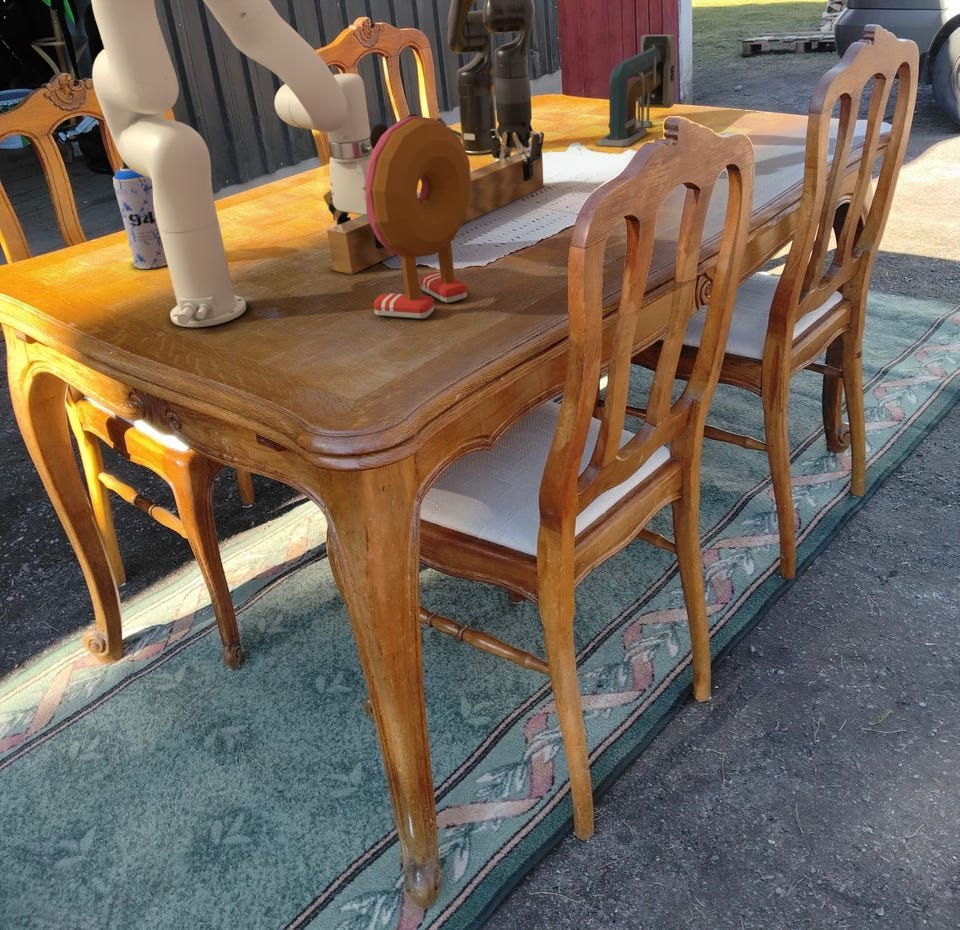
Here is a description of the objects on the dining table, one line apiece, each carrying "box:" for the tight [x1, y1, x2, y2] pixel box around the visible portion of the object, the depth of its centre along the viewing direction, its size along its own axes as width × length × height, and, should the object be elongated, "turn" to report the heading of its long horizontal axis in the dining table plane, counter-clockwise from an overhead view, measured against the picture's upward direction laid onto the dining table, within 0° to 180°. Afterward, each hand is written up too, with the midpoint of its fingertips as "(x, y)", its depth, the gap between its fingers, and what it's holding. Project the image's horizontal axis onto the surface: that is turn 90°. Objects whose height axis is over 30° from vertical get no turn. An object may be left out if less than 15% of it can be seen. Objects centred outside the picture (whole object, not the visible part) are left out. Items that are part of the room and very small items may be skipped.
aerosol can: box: [112, 159, 168, 270], centre depth 186 cm, size 8×8×20 cm
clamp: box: [596, 34, 676, 147], centre depth 254 cm, size 35×9×21 cm, turn 151°
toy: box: [365, 113, 472, 319], centre depth 153 cm, size 21×10×30 cm, turn 141°
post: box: [326, 151, 544, 275], centre depth 197 cm, size 63×5×8 cm, turn 143°
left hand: (364, 243), depth 181 cm, fingers open, 8 cm apart
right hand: (517, 178), depth 214 cm, fingers closed on post, 5 cm apart
